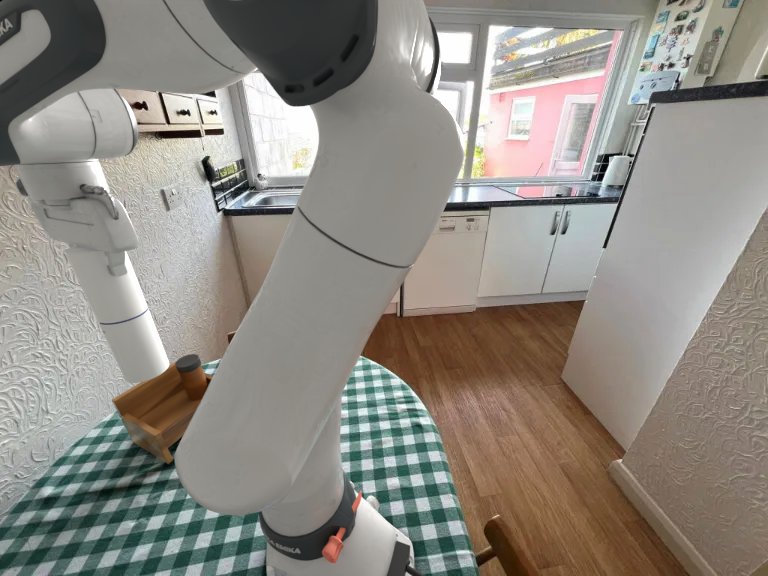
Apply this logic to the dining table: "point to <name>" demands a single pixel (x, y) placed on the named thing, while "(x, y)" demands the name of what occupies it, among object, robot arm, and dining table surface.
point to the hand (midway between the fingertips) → (105, 271)
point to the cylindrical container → (120, 314)
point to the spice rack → (163, 405)
